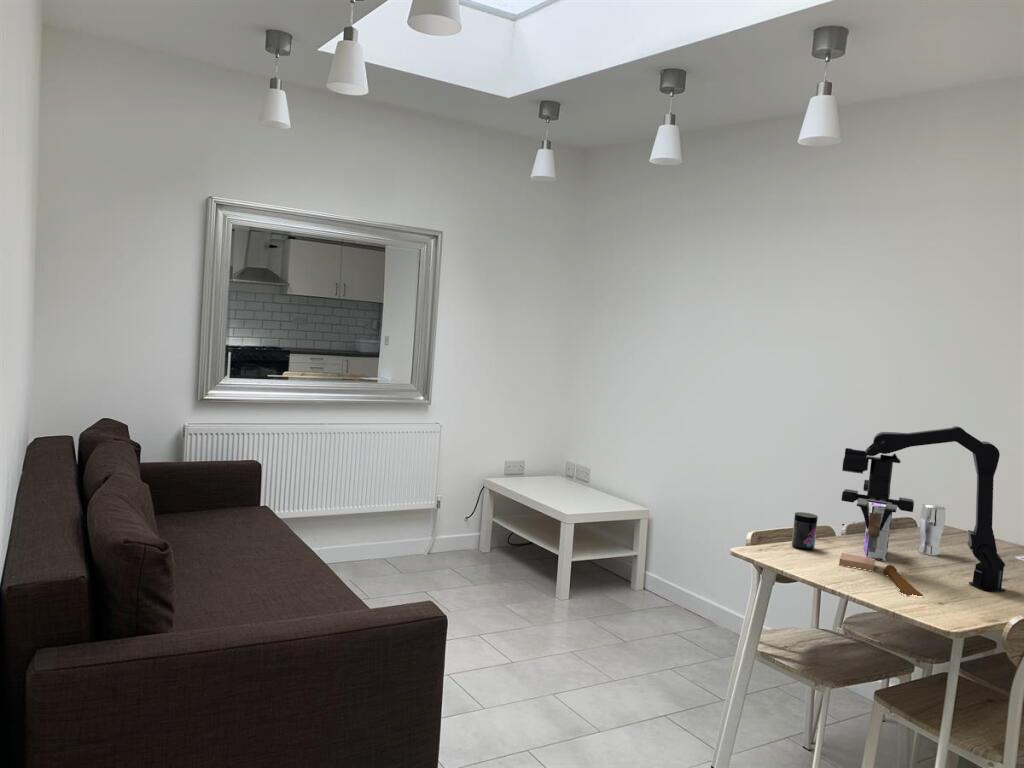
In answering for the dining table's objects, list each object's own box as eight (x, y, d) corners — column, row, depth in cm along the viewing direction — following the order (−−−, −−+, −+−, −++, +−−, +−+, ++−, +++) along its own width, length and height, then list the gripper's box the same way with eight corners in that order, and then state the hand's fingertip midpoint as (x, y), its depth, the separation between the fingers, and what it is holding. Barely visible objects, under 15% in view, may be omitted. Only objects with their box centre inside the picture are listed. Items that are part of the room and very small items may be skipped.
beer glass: (934, 557, 251) (939, 509, 249) (912, 551, 256) (917, 504, 255) (945, 555, 255) (950, 508, 254) (923, 549, 260) (928, 503, 259)
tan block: (875, 558, 236) (842, 552, 240) (873, 565, 229) (839, 558, 233) (874, 566, 236) (841, 560, 240) (872, 572, 229) (838, 566, 233)
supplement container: (799, 551, 246) (802, 517, 245) (786, 544, 252) (790, 511, 252) (818, 551, 247) (822, 517, 247) (805, 545, 254) (809, 512, 253)
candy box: (862, 547, 256) (868, 496, 255) (883, 550, 254) (889, 499, 253) (865, 558, 243) (871, 504, 242) (887, 561, 241) (893, 507, 240)
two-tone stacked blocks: (878, 546, 236) (882, 512, 235) (876, 552, 228) (880, 518, 227) (867, 544, 237) (871, 510, 237) (865, 550, 229) (869, 516, 229)
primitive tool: (925, 599, 208) (926, 586, 208) (903, 598, 208) (904, 584, 208) (895, 577, 227) (896, 564, 227) (875, 575, 227) (876, 563, 227)
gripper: (917, 477, 234) (910, 530, 235) (847, 467, 242) (841, 518, 244) (916, 483, 224) (909, 538, 225) (844, 472, 232) (838, 525, 234)
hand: (874, 529), depth 232 cm, fingers closed on two-tone stacked blocks, 3 cm apart
